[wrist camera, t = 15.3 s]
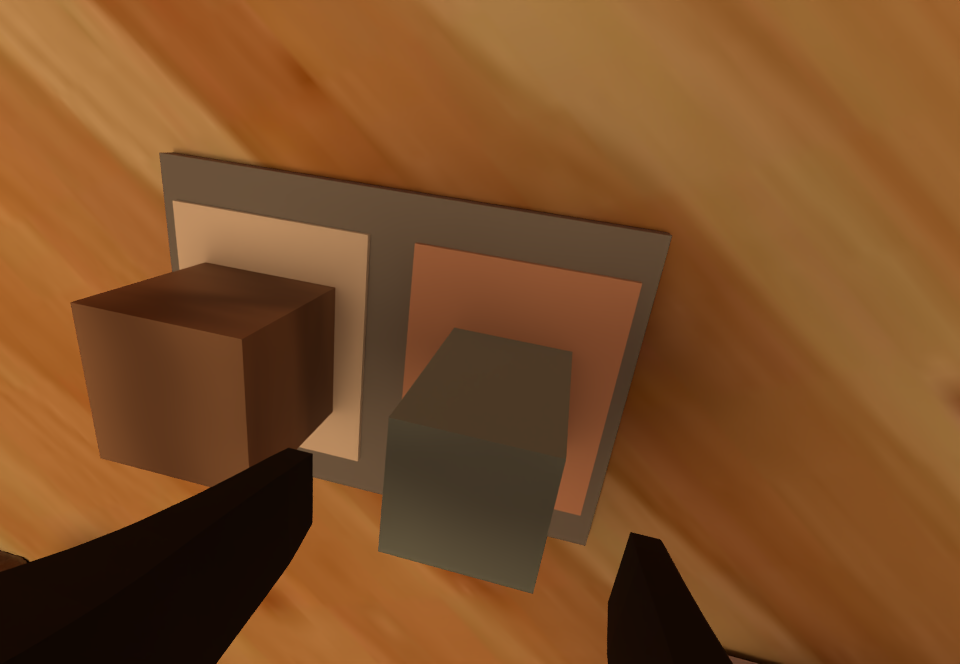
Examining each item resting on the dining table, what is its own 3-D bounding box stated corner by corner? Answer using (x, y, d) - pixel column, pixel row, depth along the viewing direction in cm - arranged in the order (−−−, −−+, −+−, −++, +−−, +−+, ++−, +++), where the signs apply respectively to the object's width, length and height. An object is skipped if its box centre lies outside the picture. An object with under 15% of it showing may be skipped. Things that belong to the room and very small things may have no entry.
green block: (572, 351, 16) (566, 459, 10) (549, 453, 17) (532, 593, 12) (454, 327, 16) (388, 417, 11) (441, 427, 18) (378, 550, 12)
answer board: (668, 232, 15) (673, 236, 14) (585, 534, 19) (585, 549, 19) (173, 152, 17) (154, 152, 16) (201, 438, 22) (187, 448, 21)
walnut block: (335, 287, 17) (241, 339, 12) (332, 411, 19) (250, 497, 14) (205, 262, 17) (70, 302, 13) (215, 384, 19) (100, 458, 15)
